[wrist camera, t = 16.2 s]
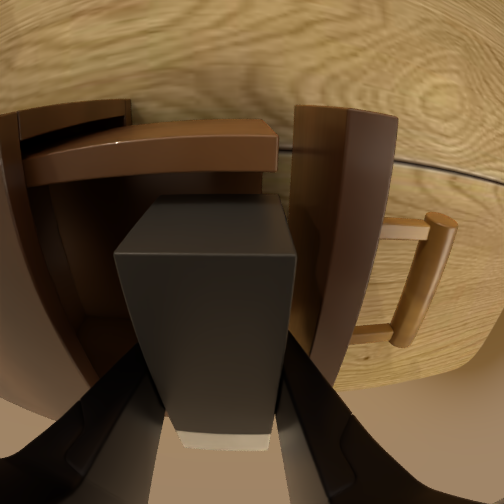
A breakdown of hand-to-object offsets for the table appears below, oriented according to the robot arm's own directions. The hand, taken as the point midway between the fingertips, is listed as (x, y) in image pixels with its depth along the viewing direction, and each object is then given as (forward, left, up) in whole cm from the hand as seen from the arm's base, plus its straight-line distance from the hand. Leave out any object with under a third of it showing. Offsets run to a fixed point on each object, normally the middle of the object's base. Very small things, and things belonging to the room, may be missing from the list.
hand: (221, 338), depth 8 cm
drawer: (+1, 0, -7) cm, 7 cm away
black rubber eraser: (0, 0, -1) cm, 1 cm away
